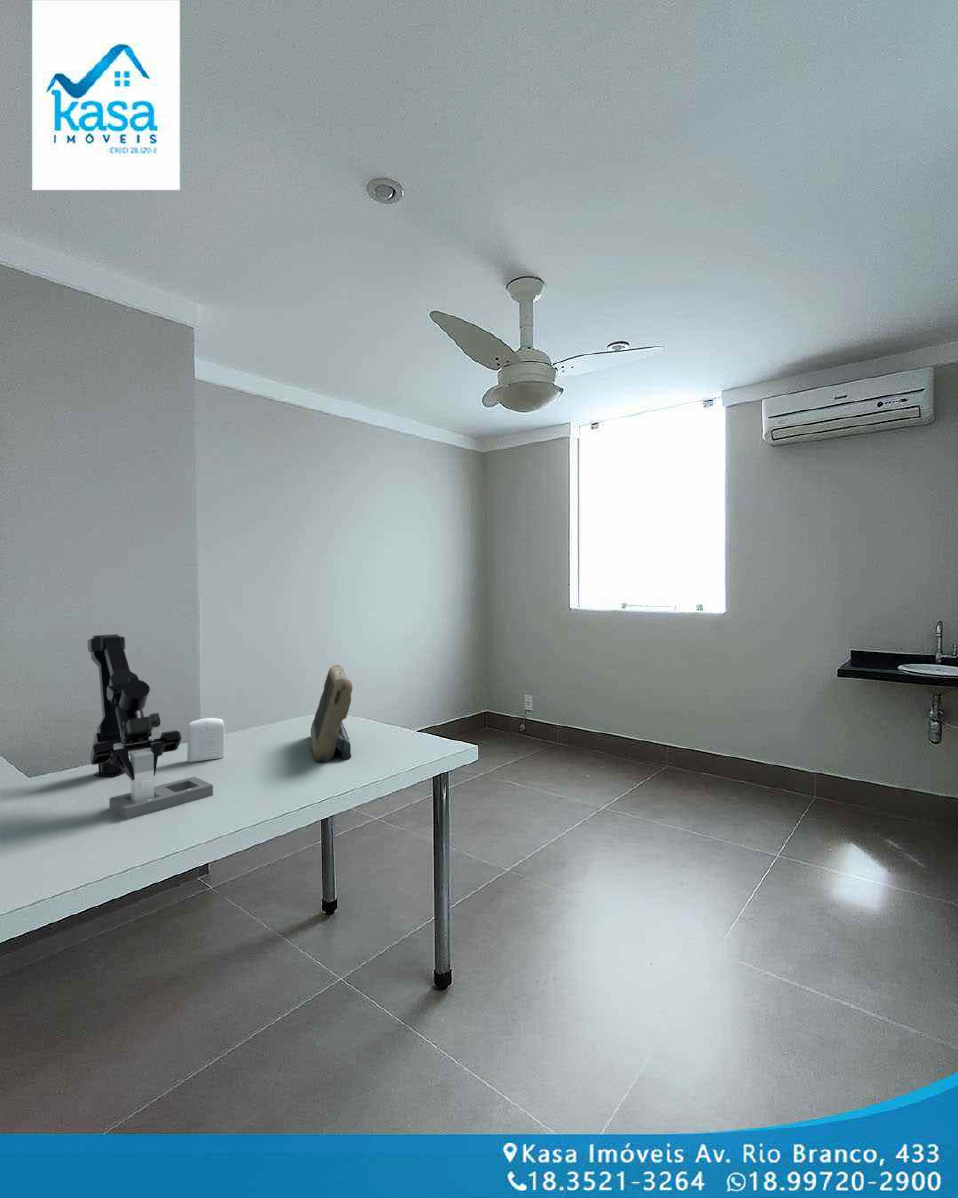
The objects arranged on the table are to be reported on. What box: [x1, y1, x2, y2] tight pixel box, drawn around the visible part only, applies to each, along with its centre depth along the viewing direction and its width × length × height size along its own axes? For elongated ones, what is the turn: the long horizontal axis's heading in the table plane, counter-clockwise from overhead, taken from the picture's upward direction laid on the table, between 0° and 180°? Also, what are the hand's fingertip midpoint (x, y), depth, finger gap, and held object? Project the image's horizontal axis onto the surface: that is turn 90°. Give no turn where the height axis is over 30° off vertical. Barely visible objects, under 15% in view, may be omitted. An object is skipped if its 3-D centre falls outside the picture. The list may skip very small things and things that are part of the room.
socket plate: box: [108, 776, 214, 820], centre depth 144 cm, size 10×20×3 cm, turn 141°
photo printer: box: [186, 717, 225, 763], centre depth 178 cm, size 10×4×12 cm, turn 123°
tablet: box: [310, 664, 353, 763], centre depth 191 cm, size 33×14×25 cm, turn 23°
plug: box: [129, 749, 155, 803], centre depth 140 cm, size 5×4×12 cm
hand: (143, 777), depth 139 cm, fingers closed on plug, 4 cm apart
